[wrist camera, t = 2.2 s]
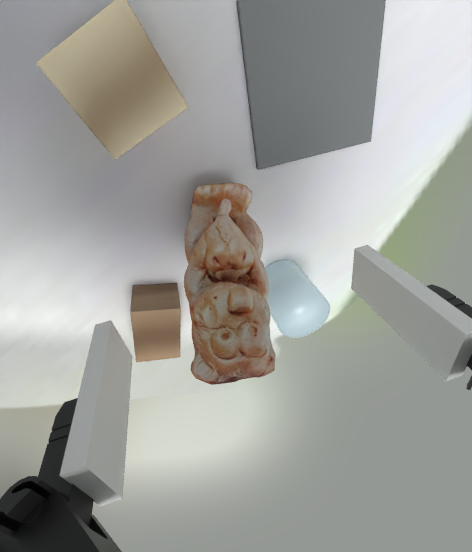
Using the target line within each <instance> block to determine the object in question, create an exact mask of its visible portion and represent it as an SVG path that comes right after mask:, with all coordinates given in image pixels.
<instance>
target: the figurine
mask: <svg viewBox="0 0 472 552" xmlns="http://www.w3.org/2000/svg"><path fill="white" fill-rule="evenodd" d="M251 196H252V191H251V190H249V189H248V188H247V186H244V185H241V184H235V183H222V184H209V185H201V186H199V187H198V188H197V189H195V190H194V195H193V201H192V206H191V218H190V221H189V223H188V225H187V228H186V232H185V252H186V257H187V261H188V267H187V270H186V272H185V276H184V288H185V292H186V296H187V299H188V301H189V306H190V314H191V320H192V339H193V344H194V349H195V357H194V360H193V362H192V364H191V372H192V374H193V375H194V376H195V377H196V378H197V379H199V380H201V381H204V382H206V383H209V384H222V383H230V382H235V381H238V380H241V379H246V378H252V377H261V376H265V375H267V374H269V373H271V372H273V371H274V366H275V352H274V350H273V348H272V344H271V340H270V327H269V323H270V314H271V313H270V309H269V305H268V302H267V300H268V292H269V282H268V277H267V274H266V271H265V268H264V266H263V263H262V262H261V260H260V258H261V253H262V248H263V236H262V232H261V231H260V229H259V227H258V225H257V224H256V222H255V221H254V220H253V219H252V218H251V217H250V216H249V215H248V214H247V213H246V210H247V208H248V206H249V204H250V202H251Z"/></svg>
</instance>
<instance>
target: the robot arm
mask: <svg viewBox="0 0 472 552" xmlns="http://www.w3.org/2000/svg"><path fill="white" fill-rule="evenodd" d="M351 289H352V290H354V291H355V292H356V293H357V294H358V295H359V296H360V297H361V298H362V299H363V300H364V301H365V302H366V303H367V304H368V305H369V306H370V307H371V308H372V309H373V310H374V311H375V312H376V313H377V314H378V315H379V316H380V317H381V318H382V319H383V320H384V321H385V322H386V323H387V324H388V325H389V326H390V327H391V328H392V329H393V330H394V331H395V332H396V333H398V335H399V336H400V337H402V339H403V340H404V341H405V342H406V343H407V344H409V345H410V346H411V347H412V348H413V349H414V350H415V351H416V352H417V353H418V354H419V355H420V356H421V357H422V358H423V359H424V360H425V361H426V362H427V363H428V364H429V365H430V366H431V367H432V368H433V369H434V370H435V371H436V372H437V373H438V374H439V375H440V376H441V377H442V378H443V379H444V380H445V381H448V380H450V379H453V378H456V377H459V376H461V375H463V373H464V371H465V369H466V367H467V366H468V367H469V368H470V369H471V370H472V307H471V306H469V305H468V304H465V303H464V302H463V301H462V300H460V299H459V298H456V296H454V295H453V294H451V293H450V292H448V291H447V290H445V289H443V288H440V287H437V286H435V285H429V286H425V285H423V284H422V283H421V282H419V281H418V280H416V279H415V278H414V277H412V276H410V275H409V274H408V273H406V272H405V271H404V270H402V269H401V268H399V267H398V266H396V265H395V264H394V263H392V262H391V261H390V260H388V259H387V258H385V257H384V256H382V255H381V254H380V253H378V252H377V251H375V250H374V249H373V248H371V247H370V246H368V245H366V246H362V247H359V248H355V251H354V263H353V274H352V286H351ZM131 369H132V355H131V353H130V351H129V350H128V348H127V346H126V345H125V343H124V341H123V340H122V338H121V336H120V335H119V333H118V331H117V330H116V328H115V326H114V325H113V323H112V321H111V320H110V321H107V322H104V323H100V324H97V325H95V328H94V332H93V337H92V341H91V345H90V349H89V353H88V358H87V362H86V366H85V370H84V374H83V379H82V383H81V387H80V391H79V395H78V398H77V399H73V400H70V401H67V402H64V404H63V406H62V407H61V409H60V411H59V412H58V413H57V415H56V417H55V421H54V424H53V427H52V432H51V434H50V438H49V444H48V445H47V448H46V451H45V455H44V458H43V461H42V465H41V468H40V472H39V475H38V477H37V476H29V477H26V478H24V479H21V480H19V481H18V482H17V483H15V484H14V485H13V486H11V487H10V488H9V489H8V490H7V492H6V493H5V494H4V495H3V496H2V497H1V499H0V552H122V551H121V550H120V549H119V548H118V546H117V545H116V544H115V542H114V541H113V540H112V538H111V537H110V536H109V534H108V533H107V532H106V531H105V529H104V528H103V527H102V525H101V524H100V523H99V521H98V520H97V519H96V517H95V516H94V515H92V508H93V501H94V502H96V503H97V504H98V505H100V506H103V505H106V504H108V503H111V502H114V501H116V500H119V499H122V498H123V483H124V468H125V454H126V441H127V426H128V411H129V398H130V383H131ZM471 387H472V376H471V378H470V380H469V382H468V384H467V389H468V390H470V389H471Z"/></svg>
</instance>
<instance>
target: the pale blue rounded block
mask: <svg viewBox="0 0 472 552" xmlns="http://www.w3.org/2000/svg"><path fill="white" fill-rule="evenodd" d="M265 271H266V274H267V277H268V282H269V292H268V300H267V302H268V305H269V309H270V313H271V315H272V317H273V319H274V321H275V322H276V324H277V326H278V328H279V330H280V331H281V333H282V334H284V335H285V336H287V337H292V338H298V337H303V336H306V335H309V334H311V333H312V332H314V331H316V330H317V329H318V328H320V327H321V326H322V325H323V324H324V322H325V321H326V320H327V318H328V316H329V312H330V305H329V302H328V301H327V300H326V298H325V297H324V296H323V295H322V294H321V292H320V291H319V290H318V289H317V288H316V286H315V285H314V284H313V283H312V282H311V280H310V279H309V278H308V277H307V276H306V274H305V273H304V272H303V271H302V270H301V268H300V267H299V266H298V265H297V264H296V263H295V262H293V261H289V260H280V261H276V262H274V263H272V264H270V265H269V266H267V267H266V268H265Z"/></svg>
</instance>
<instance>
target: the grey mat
mask: <svg viewBox="0 0 472 552" xmlns="http://www.w3.org/2000/svg"><path fill="white" fill-rule="evenodd" d="M385 1H386V0H238V1H237V7H238V16H239V24H240V32H241V40H242V49H243V57H244V65H245V74H246V82H247V90H248V98H249V107H250V115H251V123H252V131H253V140H254V148H255V156H256V164H257V169H258V170H259V169H263V168H267V167H271V166H275V165H279V164H283V163H287V162H291V161H295V160H299V159H303V158H307V157H311V156H315V155H319V154H323V153H327V152H331V151H335V150H339V149H342V148H346V147H350V146H354V145H358V144H362V143H366V142H370V141H371V135H372V126H373V116H374V106H375V97H376V87H377V78H378V68H379V59H380V49H381V39H382V30H383V20H384V11H385Z"/></svg>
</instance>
